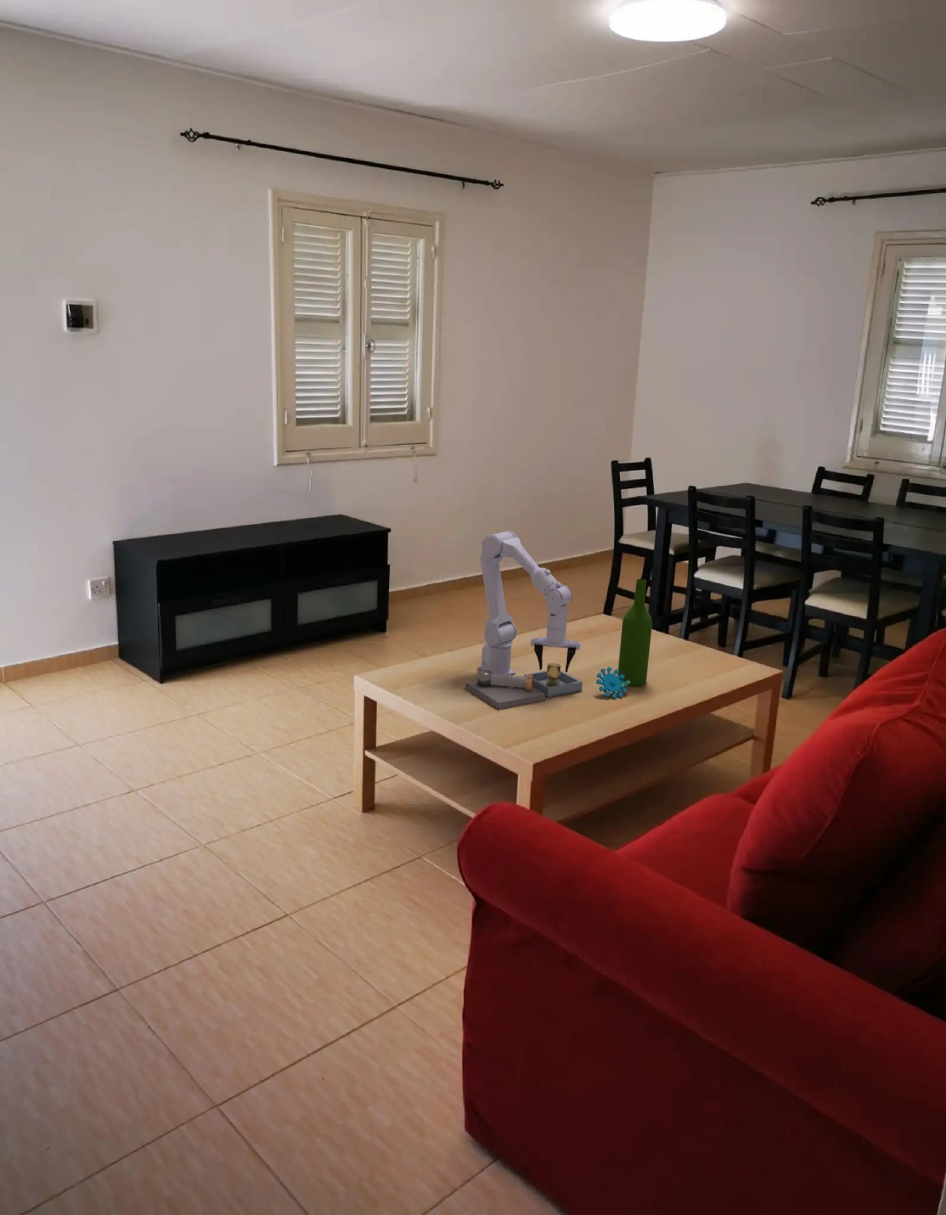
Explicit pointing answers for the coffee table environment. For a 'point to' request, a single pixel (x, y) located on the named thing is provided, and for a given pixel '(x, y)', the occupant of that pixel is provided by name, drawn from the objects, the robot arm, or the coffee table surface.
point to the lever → (503, 680)
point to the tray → (565, 686)
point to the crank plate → (505, 695)
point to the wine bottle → (635, 640)
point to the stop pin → (553, 674)
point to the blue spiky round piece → (612, 682)
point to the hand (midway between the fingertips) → (553, 670)
